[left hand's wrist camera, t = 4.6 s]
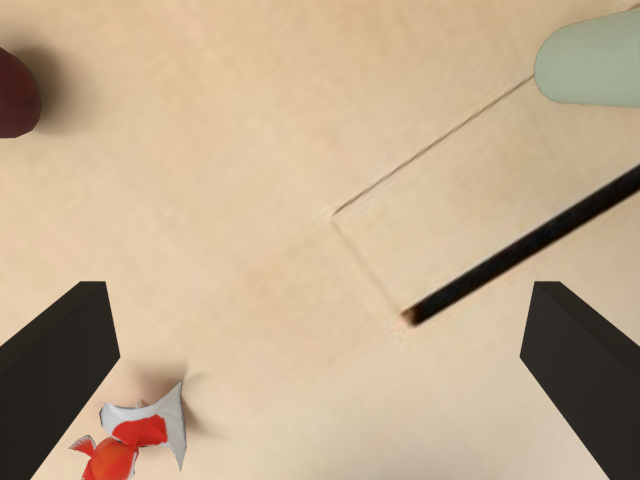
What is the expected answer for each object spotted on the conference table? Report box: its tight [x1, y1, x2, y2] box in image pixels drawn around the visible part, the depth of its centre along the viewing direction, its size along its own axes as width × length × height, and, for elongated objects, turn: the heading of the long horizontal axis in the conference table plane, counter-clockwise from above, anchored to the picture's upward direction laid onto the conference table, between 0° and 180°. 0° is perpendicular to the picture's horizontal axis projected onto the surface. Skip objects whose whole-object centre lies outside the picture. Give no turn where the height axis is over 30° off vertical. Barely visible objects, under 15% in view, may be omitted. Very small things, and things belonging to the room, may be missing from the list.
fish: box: [68, 380, 186, 480], centre depth 46 cm, size 11×16×10 cm
